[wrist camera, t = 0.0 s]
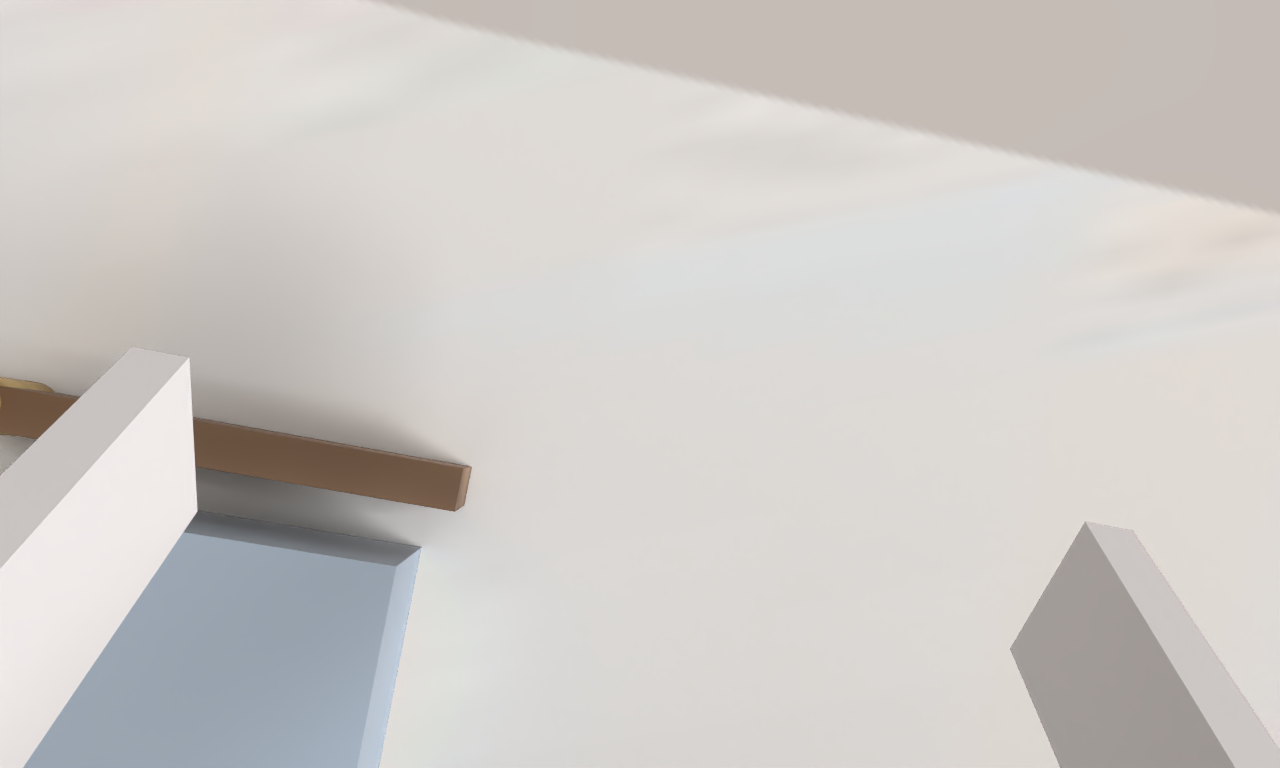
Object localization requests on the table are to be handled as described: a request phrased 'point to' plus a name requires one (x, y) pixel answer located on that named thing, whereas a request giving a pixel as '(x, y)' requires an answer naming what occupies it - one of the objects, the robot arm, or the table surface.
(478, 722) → the table surface
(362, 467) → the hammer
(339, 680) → the block
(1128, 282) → the table surface
